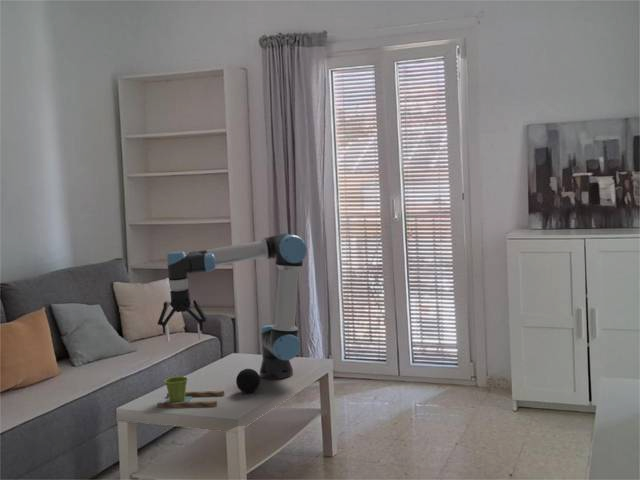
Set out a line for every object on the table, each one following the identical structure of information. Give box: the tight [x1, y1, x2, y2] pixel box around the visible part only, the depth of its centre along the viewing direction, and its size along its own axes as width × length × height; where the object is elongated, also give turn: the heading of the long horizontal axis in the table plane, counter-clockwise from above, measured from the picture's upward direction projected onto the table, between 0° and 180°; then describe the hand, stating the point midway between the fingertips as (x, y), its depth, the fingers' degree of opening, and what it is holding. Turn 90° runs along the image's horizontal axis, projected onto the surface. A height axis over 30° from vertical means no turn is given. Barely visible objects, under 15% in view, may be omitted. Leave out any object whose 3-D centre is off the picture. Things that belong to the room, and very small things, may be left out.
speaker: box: [235, 368, 261, 394], centre depth 309 cm, size 10×10×10 cm
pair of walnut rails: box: [156, 390, 225, 409], centre depth 301 cm, size 24×16×2 cm, turn 85°
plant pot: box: [164, 376, 189, 402], centre depth 301 cm, size 9×9×9 cm
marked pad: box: [163, 396, 193, 403], centre depth 302 cm, size 10×10×1 cm
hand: (184, 339), depth 305 cm, fingers open, 13 cm apart
